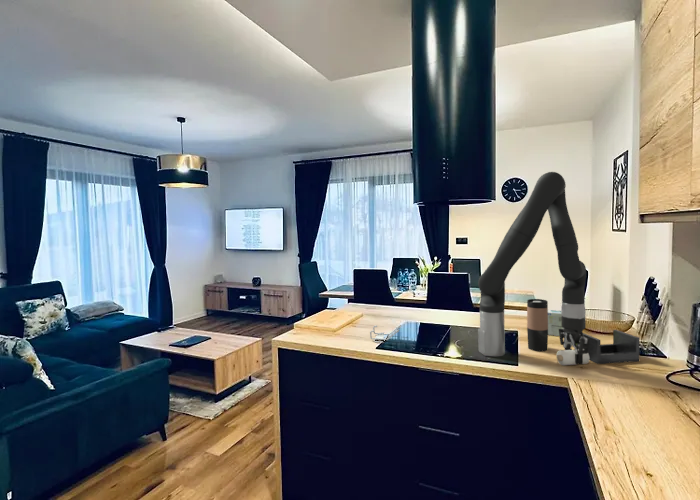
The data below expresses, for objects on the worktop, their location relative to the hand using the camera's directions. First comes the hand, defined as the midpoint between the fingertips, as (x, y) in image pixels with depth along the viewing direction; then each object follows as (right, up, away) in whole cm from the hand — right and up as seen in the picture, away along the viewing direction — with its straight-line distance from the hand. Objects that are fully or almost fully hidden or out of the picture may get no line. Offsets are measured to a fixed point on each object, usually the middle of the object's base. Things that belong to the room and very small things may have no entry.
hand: (573, 360), depth 137 cm
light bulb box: (+13, +1, +38) cm, 40 cm away
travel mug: (-4, 0, +18) cm, 18 cm away
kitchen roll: (0, +1, 0) cm, 1 cm away
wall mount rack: (-64, -2, +40) cm, 76 cm away
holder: (+16, 0, +5) cm, 17 cm away
